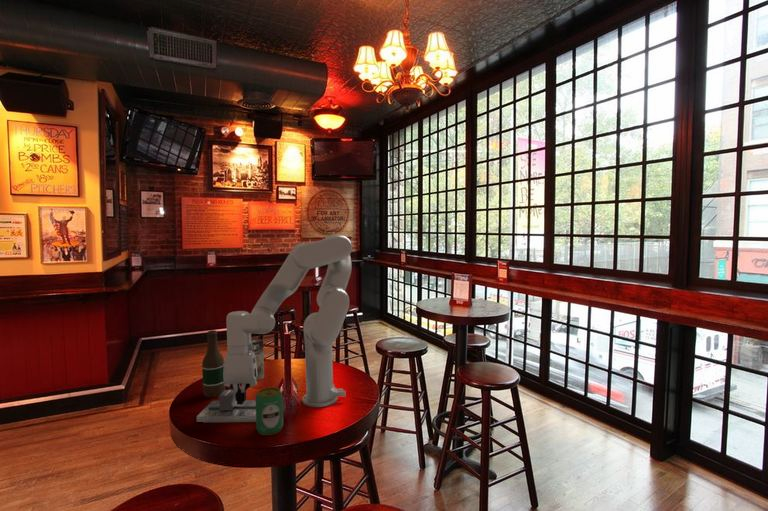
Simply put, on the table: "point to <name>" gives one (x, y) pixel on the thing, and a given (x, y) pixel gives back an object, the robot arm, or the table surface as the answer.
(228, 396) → the fader cap
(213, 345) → the beer bottle
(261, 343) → the coffee box
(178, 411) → the table surface
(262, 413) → the beverage can
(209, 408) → the console
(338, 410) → the table surface
